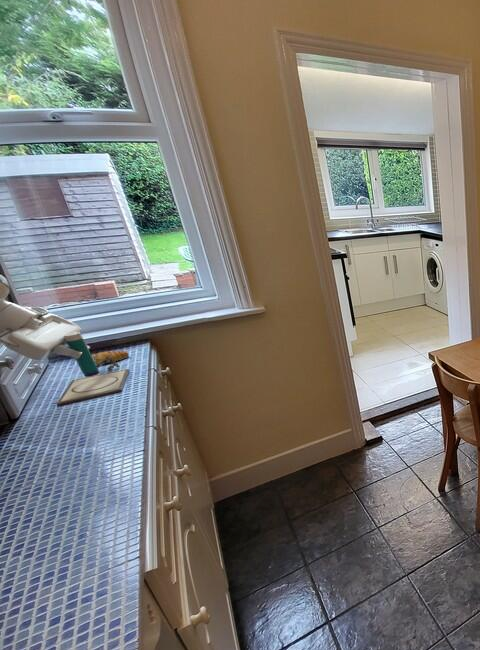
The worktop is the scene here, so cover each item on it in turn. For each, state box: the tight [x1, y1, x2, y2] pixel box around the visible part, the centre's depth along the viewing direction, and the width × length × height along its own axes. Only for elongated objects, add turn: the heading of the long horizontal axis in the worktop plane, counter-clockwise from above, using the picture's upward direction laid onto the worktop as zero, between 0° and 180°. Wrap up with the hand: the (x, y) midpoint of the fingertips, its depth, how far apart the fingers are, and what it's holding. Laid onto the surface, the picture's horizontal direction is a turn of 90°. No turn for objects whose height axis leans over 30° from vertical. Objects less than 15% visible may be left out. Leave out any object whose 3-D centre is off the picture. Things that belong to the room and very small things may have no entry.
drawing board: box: [56, 368, 130, 407], centre depth 128 cm, size 14×20×1 cm
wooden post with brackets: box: [96, 356, 120, 371], centre depth 140 cm, size 2×8×4 cm, turn 107°
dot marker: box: [64, 331, 100, 378], centre depth 112 cm, size 3×3×12 cm
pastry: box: [91, 350, 130, 365], centre depth 147 cm, size 9×7×4 cm
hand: (84, 352), depth 112 cm, fingers closed on dot marker, 3 cm apart
